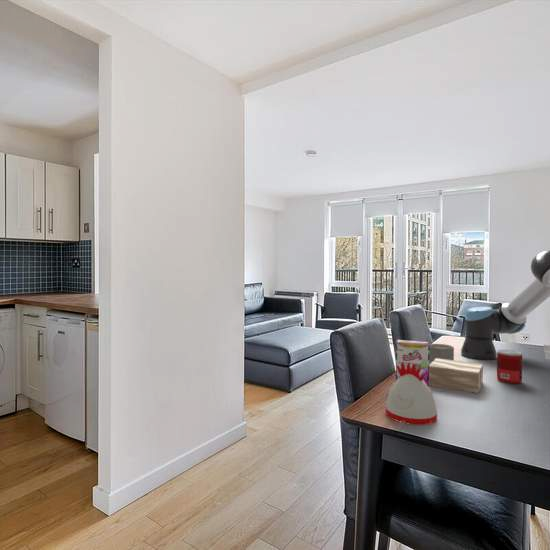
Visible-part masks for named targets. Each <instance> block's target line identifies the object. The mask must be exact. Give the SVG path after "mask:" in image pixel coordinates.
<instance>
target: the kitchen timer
mask: <svg viewBox="0 0 550 550" xmlns="http://www.w3.org/2000/svg"><path fill="white" fill-rule="evenodd" d="M397 369H398V372H399V374H400V376H401V377H400V378H399V379H397V380H396V382H395V381H394V383H393V384H392V385H391V388H390V390H389V393H388V396H387V398H386V401H385V413H386V416H388V417H389V416H390V417H391V418H390V417H389V418H390V419H392V418H393V419H392V420H394V419H396V420H398V421H397V422H399V421H401V422H400V423H403V422H405V423H404V424H407V423H409V424H408V425H414V424H415V425H417V426H419V425H420V426H423V425H430V424H434V422H436V421H437V419H438V410H437V409H438V408H437V405H436V402H435V398H434V395H433V392H432V391H431V389H430V386H429V387H428V386H427V384H426V383H425V382H424V381H423V378H424V376H425V374H423V375H422V377H420V376H419V373H420V369H418V370H417V372H416V369H415V364H413V365H412V369H411V368H410V363H408V364H407V369H405V366H404V363H403V362H402V363H401V369H400V367H399V366H397ZM396 420H395V421H396Z"/></svg>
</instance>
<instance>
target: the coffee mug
mask: <svg viewBox="0 0 550 550" xmlns="http://www.w3.org/2000/svg"><path fill="white" fill-rule="evenodd" d="M429 345H430V352H429V365H430V364H431V363H432V362H433V361H434V360H435V359H436V358H440V359H448V360H454V359H455V358H454V357H455V356H454V355H455V354H454V353H455V348H454V346H453V345H450V344H443V343H429Z"/></svg>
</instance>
